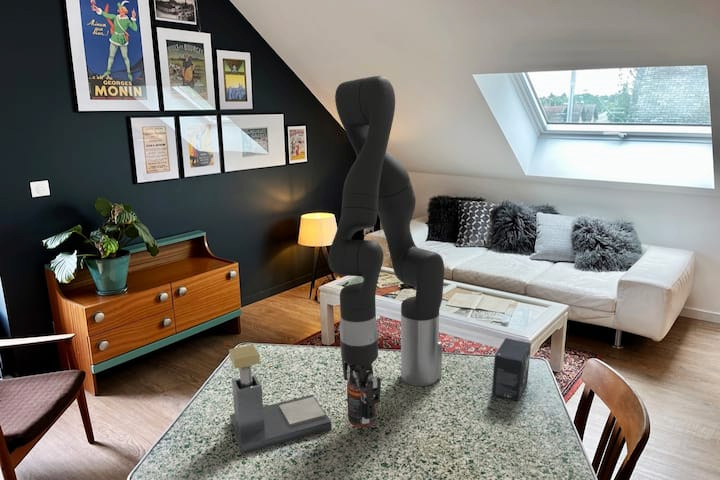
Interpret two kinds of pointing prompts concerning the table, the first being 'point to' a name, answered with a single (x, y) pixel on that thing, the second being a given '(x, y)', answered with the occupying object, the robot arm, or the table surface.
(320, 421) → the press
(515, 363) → the box
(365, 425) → the supplement bottle
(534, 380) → the table surface
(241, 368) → the plunger
